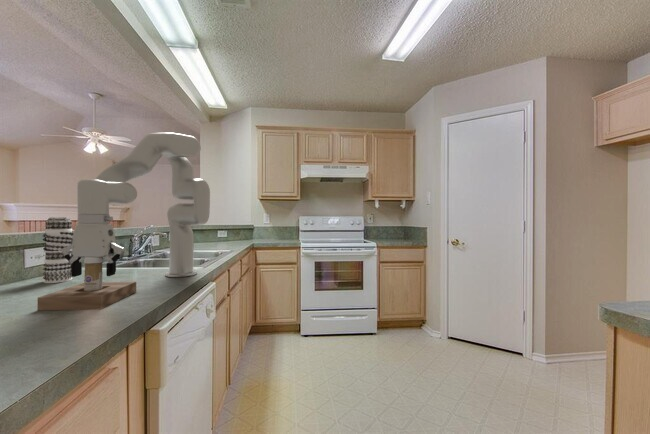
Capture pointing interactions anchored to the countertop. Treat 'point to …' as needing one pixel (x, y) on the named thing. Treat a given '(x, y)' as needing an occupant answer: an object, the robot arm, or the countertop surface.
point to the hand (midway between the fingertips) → (93, 275)
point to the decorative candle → (57, 249)
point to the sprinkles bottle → (93, 273)
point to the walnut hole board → (86, 297)
